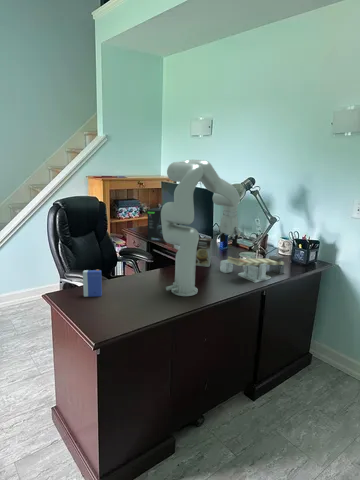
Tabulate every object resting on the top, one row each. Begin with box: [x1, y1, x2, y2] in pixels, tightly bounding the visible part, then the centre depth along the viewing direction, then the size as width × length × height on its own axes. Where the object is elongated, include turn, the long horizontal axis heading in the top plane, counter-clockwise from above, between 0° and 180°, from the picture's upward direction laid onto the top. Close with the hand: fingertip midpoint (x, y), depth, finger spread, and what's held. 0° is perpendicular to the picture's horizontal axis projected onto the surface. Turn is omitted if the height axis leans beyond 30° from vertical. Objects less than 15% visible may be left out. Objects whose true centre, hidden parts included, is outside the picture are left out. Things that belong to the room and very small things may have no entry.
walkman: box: [82, 269, 103, 298], centre depth 153 cm, size 8×3×12 cm, turn 96°
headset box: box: [147, 206, 180, 243], centre depth 257 cm, size 22×12×26 cm, turn 73°
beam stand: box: [237, 257, 285, 284], centre depth 187 cm, size 26×13×9 cm, turn 124°
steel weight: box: [219, 259, 234, 274], centre depth 192 cm, size 5×5×6 cm
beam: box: [226, 255, 285, 267], centre depth 183 cm, size 36×8×4 cm, turn 124°
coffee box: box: [196, 237, 213, 268], centre depth 201 cm, size 9×6×16 cm
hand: (228, 243), depth 189 cm, fingers open, 9 cm apart
